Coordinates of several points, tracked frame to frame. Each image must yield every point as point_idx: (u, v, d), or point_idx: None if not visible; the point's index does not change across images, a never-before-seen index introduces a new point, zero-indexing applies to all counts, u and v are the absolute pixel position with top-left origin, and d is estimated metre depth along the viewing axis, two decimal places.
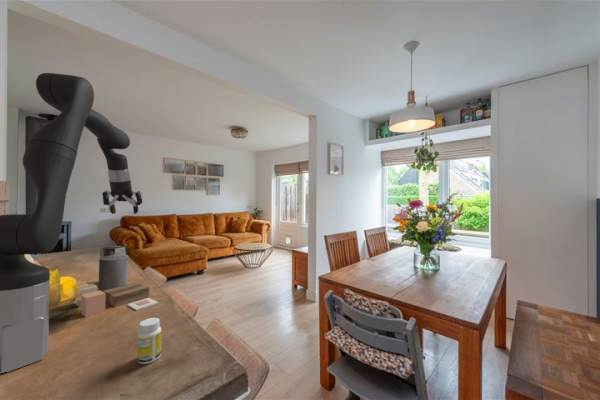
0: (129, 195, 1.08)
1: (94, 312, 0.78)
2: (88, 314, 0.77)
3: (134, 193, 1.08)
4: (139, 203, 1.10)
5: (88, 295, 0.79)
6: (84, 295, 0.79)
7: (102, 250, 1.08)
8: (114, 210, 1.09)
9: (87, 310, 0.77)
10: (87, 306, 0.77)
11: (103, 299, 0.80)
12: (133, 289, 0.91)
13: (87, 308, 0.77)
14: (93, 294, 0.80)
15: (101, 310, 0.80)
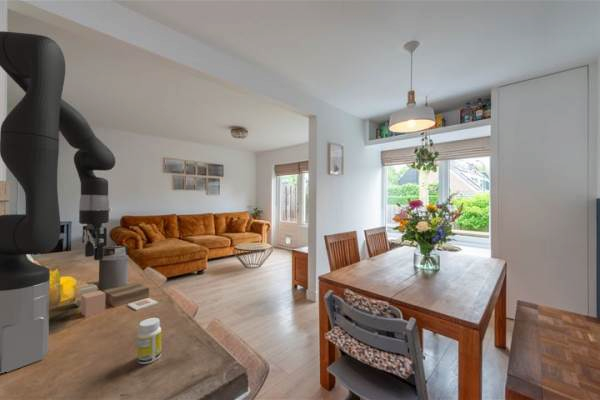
0: (93, 231, 0.78)
1: (94, 312, 0.78)
2: (88, 314, 0.77)
3: None
4: (96, 244, 0.76)
5: (88, 295, 0.79)
6: (84, 295, 0.79)
7: None
8: (89, 252, 0.82)
9: (87, 310, 0.77)
10: (87, 306, 0.77)
11: (103, 299, 0.80)
12: (133, 289, 0.91)
13: (87, 308, 0.77)
14: (93, 294, 0.80)
15: (101, 310, 0.80)
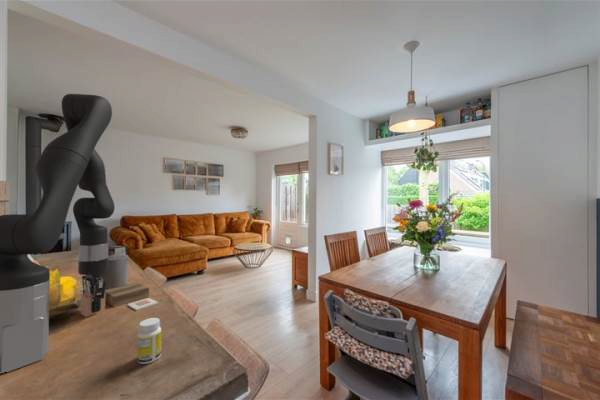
0: (92, 284, 0.78)
1: (94, 312, 0.78)
2: (88, 314, 0.77)
3: None
4: (94, 298, 0.76)
5: (88, 295, 0.79)
6: (84, 295, 0.79)
7: None
8: None
9: (87, 310, 0.77)
10: (87, 306, 0.77)
11: (103, 299, 0.80)
12: (133, 289, 0.91)
13: (87, 308, 0.77)
14: None
15: (101, 310, 0.80)
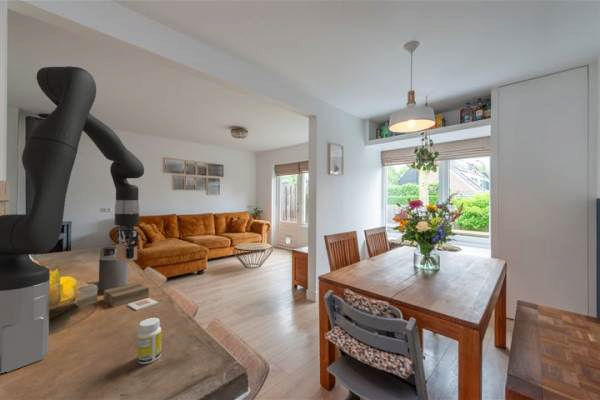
0: (127, 233, 0.89)
1: None
2: (123, 259, 0.89)
3: None
4: (129, 245, 0.88)
5: (123, 244, 0.90)
6: (119, 244, 0.90)
7: (102, 250, 1.08)
8: None
9: (123, 256, 0.88)
10: (123, 252, 0.88)
11: (135, 248, 0.92)
12: (133, 289, 0.91)
13: (122, 255, 0.88)
14: None
15: (134, 258, 0.91)
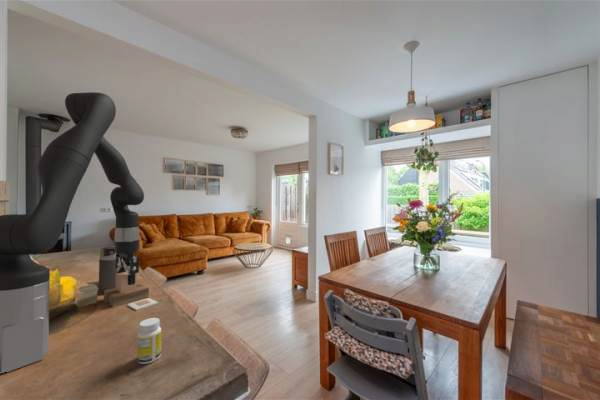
0: (127, 260, 0.89)
1: (127, 289, 0.89)
2: (122, 290, 0.88)
3: None
4: (130, 272, 0.87)
5: (122, 274, 0.90)
6: (118, 274, 0.90)
7: (102, 250, 1.08)
8: None
9: (122, 287, 0.88)
10: (122, 283, 0.88)
11: None
12: None
13: (121, 285, 0.88)
14: (126, 273, 0.91)
15: (133, 287, 0.91)
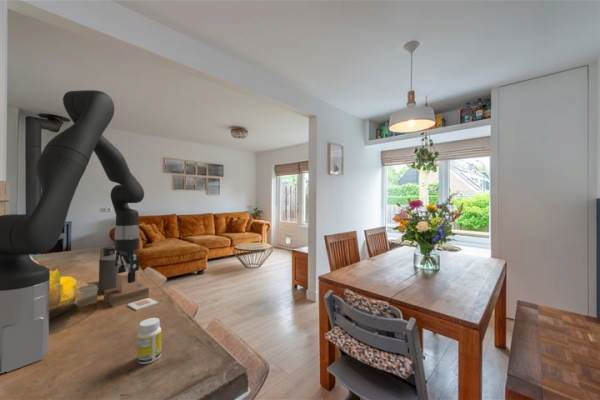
0: (127, 258, 0.89)
1: (128, 288, 0.90)
2: (123, 290, 0.88)
3: None
4: (130, 269, 0.87)
5: (122, 274, 0.90)
6: (119, 274, 0.90)
7: (102, 250, 1.08)
8: None
9: (123, 286, 0.88)
10: (123, 283, 0.88)
11: (135, 278, 0.92)
12: None
13: (122, 285, 0.88)
14: (127, 273, 0.91)
15: (134, 287, 0.91)
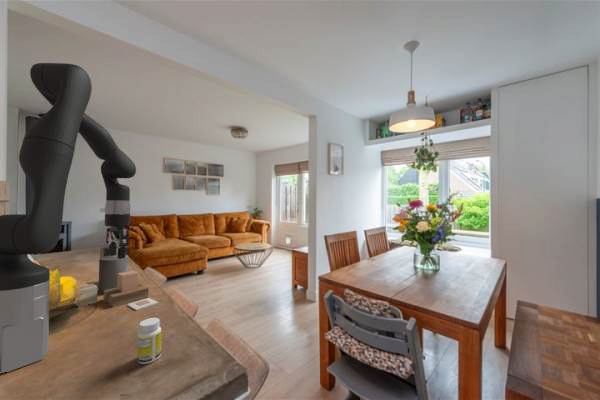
0: (117, 233, 0.87)
1: (129, 288, 0.90)
2: (124, 290, 0.89)
3: None
4: (120, 244, 0.85)
5: (123, 273, 0.90)
6: (120, 273, 0.91)
7: (102, 250, 1.08)
8: (112, 252, 0.92)
9: (123, 286, 0.89)
10: (123, 283, 0.89)
11: (136, 277, 0.92)
12: None
13: (123, 285, 0.89)
14: (128, 273, 0.91)
15: (134, 287, 0.91)
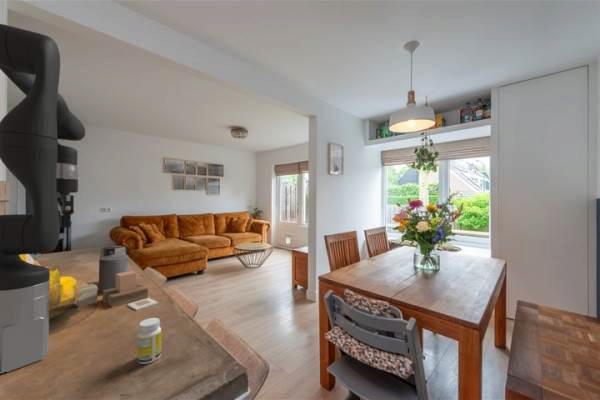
0: (60, 199, 0.78)
1: (127, 289, 0.89)
2: (122, 290, 0.88)
3: None
4: (63, 211, 0.76)
5: (121, 274, 0.90)
6: (118, 274, 0.90)
7: (102, 250, 1.08)
8: (58, 222, 0.83)
9: (121, 286, 0.88)
10: (121, 283, 0.88)
11: (134, 278, 0.91)
12: (132, 290, 0.90)
13: (121, 285, 0.88)
14: (126, 273, 0.91)
15: (133, 287, 0.91)
